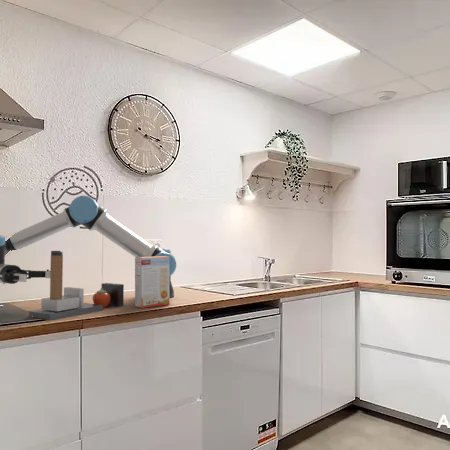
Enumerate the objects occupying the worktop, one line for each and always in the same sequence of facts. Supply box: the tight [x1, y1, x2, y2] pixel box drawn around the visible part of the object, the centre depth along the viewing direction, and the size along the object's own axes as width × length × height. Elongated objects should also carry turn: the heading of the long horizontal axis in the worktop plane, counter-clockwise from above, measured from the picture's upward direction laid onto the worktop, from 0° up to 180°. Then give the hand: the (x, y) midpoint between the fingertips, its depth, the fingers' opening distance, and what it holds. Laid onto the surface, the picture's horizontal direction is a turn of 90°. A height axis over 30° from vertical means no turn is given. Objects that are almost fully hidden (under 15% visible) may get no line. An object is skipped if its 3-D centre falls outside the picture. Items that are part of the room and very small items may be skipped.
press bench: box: [28, 282, 125, 321], centre depth 172 cm, size 37×12×9 cm, turn 149°
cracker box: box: [134, 256, 170, 309], centre depth 185 cm, size 14×6×21 cm, turn 131°
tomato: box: [91, 288, 111, 309], centre depth 181 cm, size 7×7×8 cm
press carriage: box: [40, 250, 85, 311], centre depth 164 cm, size 12×9×22 cm
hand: (41, 276), depth 166 cm, fingers open, 13 cm apart
